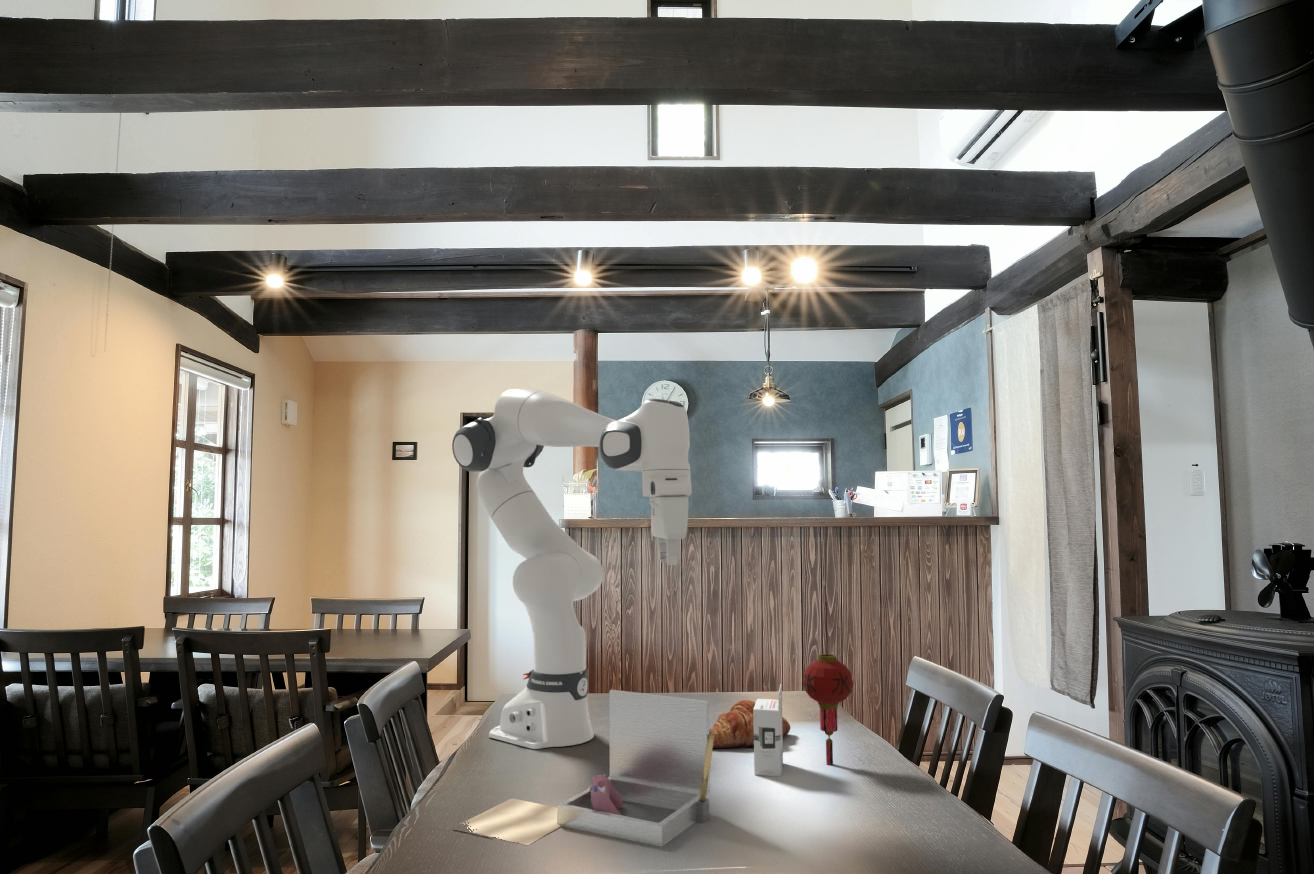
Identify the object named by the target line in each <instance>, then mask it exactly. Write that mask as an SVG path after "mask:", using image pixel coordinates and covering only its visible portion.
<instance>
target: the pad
mask: <svg viewBox="0 0 1314 874" xmlns="http://www.w3.org/2000/svg"><path fill="white" fill-rule="evenodd" d="M467 821H468V822H469V824H468V822H467ZM464 822H466V824H467V825H469V826H468V827H469V828H470V829H471V830H472V831H473V829H474V831H473V833H477V834H480V835H484V836H488V837H496V838H497V839H496V840H500V839H502V840H501V841H504V840H505V841H506V842H509V843H513V842H515V843H514V844H517V842H519V844H518V845H521V846H522V845H523V846H526V845H527V847H528V846H530V845H532V844H533V843H535V842H537V841H538V840H541V839H542V838H544V837H546V836H548V835H549V834H551V833H553V832H555V831H556V830H558V829H560V828H561V827H564V826H563V825H561V824H557V806H552V805H546V804H541V803H536V802H532V801H528V800H527V801H526V800H521V799H519V798H518V799H517V798H513V797H511V798H510V799H507V800H505V801H504V802H502V803H499V804H498V805H495V806H493V807H491V808H489V809H487V810H485V811H483V812H482V813H479V814H478V815H475V816H473V817H471V818H469V819H466V820H465V821H463V822H461V823H460V824H462V823H463V824H464V825H465V823H464ZM470 826H471V827H470ZM468 827H467V829H468ZM476 829H477V830H476ZM469 831H470V830H469ZM470 832H471V831H470ZM498 837H499V838H498ZM505 841H504V842H505Z"/></svg>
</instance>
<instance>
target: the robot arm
mask: <svg viewBox="0 0 1314 874" xmlns="http://www.w3.org/2000/svg"><path fill="white" fill-rule="evenodd" d="M685 407H686V406H684V404H683V403H681V402H679V401H675V400H674V401H673V400H669V399H661V398H660V399H659V398H649V399H646V400H644V401H643V402H642V404H641V405H640V407H639V408H637V410H635V411H634V412H632V413H631V414H629V415H628V416H627V415H626V416H625V417H623V418H621V419H615V418H612V417H608V416H605V415H603V414H599V413H598V412H595V411H593V410H590V409H588V408H585V407H583V406H581V405H579V404H577V403H574V402H572V401H571V400H568V399H566V398H563V397H561V396H558V395H555V394H553V393H550V392H547V391H543V390H538V389H533V388H522V387H521V388H520V387H519V388H510V389H508V390H506V391H504V392H503V393H501V394H500V395H499V397H498V398H497V400H496V402H495V406H494V409H493V411H494V412H493V415H492V416H490V417H489V418H483V417H479V418H477V419H475V420H474V421H471V422H469V423H467V424H465V425H464V426H462V427H461V428H459V429H458V430H457V431H456V432H455V434H454V436H453V439H452V445H451V446H452V449H451V450H452V454H453V457H454V459H455V461H456V463H457V464H458V465H459V467H461V468H462V469H463V470H465V471H466V472H474V473H475V472H477V473H478V472H480V473H479V474H478V477H477V479H476V489H477V490H478V494H479V496H480V499H481V502H482V504H483V505H484V508H485V510H486V512H487V513H488V516H489V517H490V518H491V520H492V522H493V523H494V525H495V527H496V528H497V529H498V531H499V533H500V535H501V536H502V538H503V539H504V540H505V542H506V544H507V545H508V547H509V549H511V550H512V551H513V552H514V553H517V554H519V555H520V556H521V557H523V558H525V560H523V561H522V562H520V563H519V564H518V566H517V567H516V569H515V570H514V572H513V576H512V587H513V591H514V593H515V595H516V597H517V598H518V600H519V601H520V602H522V604H523V605H524V607H525V608H526V612H527V614H528V618H529V622H530V625H531V630H532V638H533V643H532V644H533V669H531V670H530V671H528V672H526V673H523V674H522V676H524V677H523V678H522V679H523V680H527V683H526V686H525V688H524V689H522V690H521V691H520V692H519V693H517V695H515V696H514V697H513V698H511V699H510V700H509V701H508V702H507V703H505V705H504V706H503V708H502V710H501V711H502V712H501V715H500V723H499V725H498V726H494V728H492V729H490V731H489V733H488V737H489V738H491V739H495V740H499V741H503V742H506V743H510V744H512V745H517V746H521V747H524V748H527V749H532V750H538V749H539V750H540V749H546V748H554V747H555V748H557V747H558V748H559V747H567V746H568V747H569V746H575V745H580V744H584V743H586V742H588V741H591V740H592V739H593V738H594V736H595V735H594V732H593V728H592V725H591V720H590V714H589V706H588V691H589V689H588V688H589V670H588V668H587V653H586V651H587V644H586V642H587V640H586V639H587V637H586V636H587V634H586V631H585V628H584V627H583V626H582V625H581V624H580V622H579V621H578V618H577V615H576V611H575V606H574V602H576V601H580V600H583V599H586V598H587V597H589V596H590V595H592V594H593V593H595V592H596V591H597V590H598V589H599V588H600V586H601V585H602V583H603V578H604V569H603V567H602V564H601V562H600V560H599V559H598V558H597V556H595V555H593V554H592V553H591V552H588V551H587V550H586V549H584V548H583V547H581V546H580V545H579V544H578V543H577V542H576V541H575V540H574V538H572V537H571V536H569V535H568V533H567V532H565V530H563V528H561V526H560V525H558V524H557V522H556V521H555V520H554V519H553V517H552V516H551V514H550V513H549V511H548V510H547V508H545V506H544V504H543V503H542V501H541V500H540V499H539V497H538V496H537V494H536V492H535V491H534V489H533V488H532V487H531V485H530V483H528V481H527V479H526V477H525V475H524V468H531V467H533V466H534V464H535V462H536V459H537V458H538V456H540V454H541V453H542V452H543V450H544V448H545V447H553V448H570V447H571V448H573V447H576V448H577V447H595V448H599V452H600V453H599V454H600V456H601V458H602V460H603V462H604V463H605V465H606V466H607V467H609V468H610V469H614V470H617V471H622V472H623V471H627V472H630V471H631V472H641V474H642V475H641V477H642V479H641V483H642V488H641V489H642V497H645V498H646V497H647V498H648V497H649V506H651V507H650V530H651V536H653V537H655V538H656V539H657V540H656V541H657V548H658V553H659V554H658V556H659V557H658V559H659V561H660V562H661V563H666V564H667V565H668V566H677V565H678V564H679V551H680V540H684V539H685V538H686V536H687V533H688V532H687V531H688V520H689V497H690V496H691V495H692V492H693V491H692V490H693V489H692V488H693V487H692V483H691V482H692V481H691V480H692V479H691V477H692V476H691V475H692V474H691V466H690V462H689V451H690V446H691V443H690V442H691V441H690V424H689V419H688V418H689V417H688V413H687V410H686V408H685Z"/></svg>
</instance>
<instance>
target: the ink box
mask: <svg viewBox="0 0 1314 874" xmlns="http://www.w3.org/2000/svg"><path fill="white" fill-rule="evenodd" d="M778 689H779V690H778V693H777V696H778V697H777V699H773V698H772V699H771V698H757V699H756V701H755V706H754V709H753V716H754V747H753V760H754V761H753V766H754V769H753V770H754V775H755V776H768V777H781V776H782V772H783V763H784V754H783V753H784V751H783V750H784V745H783V744H784V743H783V739H784V736H783V735H782V717H783V685H782V683H780V685H779V688H778Z"/></svg>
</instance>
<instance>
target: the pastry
mask: <svg viewBox="0 0 1314 874" xmlns="http://www.w3.org/2000/svg"><path fill="white" fill-rule="evenodd" d="M755 703H756V701H753V700H749V699H748V700H747V699H745V700H744V699H743V700H740V701H737V702H736V703H734V704H733V705H732V707H731V708H730V710H729V711H727V712H723V713H721V714H719V715H718V717H717V720H716V721H715V722H714V724H713V726H712V727H709V734H713V735H714V743H713V749H734V748H741V747H742V748H754V716H753V709H754V706H755ZM790 730H791V725H790V723H789V722H788V720H787V719H786V718H785V717H783V716H782V735H783V737H784V736H787V735H788V734H789V733H790V732H791V731H790Z"/></svg>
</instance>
